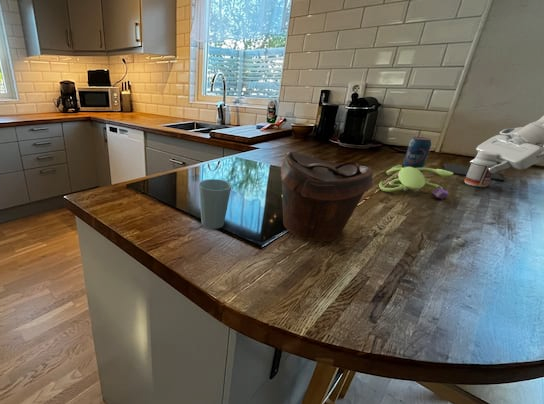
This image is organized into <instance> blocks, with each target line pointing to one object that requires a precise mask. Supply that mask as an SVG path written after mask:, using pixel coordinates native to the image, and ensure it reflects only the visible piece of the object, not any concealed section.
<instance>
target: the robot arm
mask: <svg viewBox="0 0 544 404" xmlns="http://www.w3.org/2000/svg"><path fill="white" fill-rule="evenodd" d="M475 151H476V153H478V152H479V151H489V152H494V153H497V154H499V155H498V159H497V160H495V161H496V162H497V165H495V166H493V165H492V166H490V167H488V168H487V170H488V172H490V173H495V172H497V173H498V171H502V170H507V169H509V168H513V169H516V170H519V171H522V170H526V169H528V168H530V167H532V166H533V165H535V164H537V163H539V162H540V161H541V160H542V159H544V115H542V116H541V117H540V118H539V119H538V120H535V121H532V122H529V123H528V124H526V125H524V126H519V127H512V128H504V129H502V130H500V131H499V134H497V135H493V136H492V137H490V138H488V139H487V140H485V141H483V142H481V143H480V144H478V145H477V146H476V148H475ZM476 158H478V157H477V155H476V156H475V157H474V158H473V159H471V160H470V161H469V163H470V164H471V163H472V161H473V160H474V159H476Z"/></svg>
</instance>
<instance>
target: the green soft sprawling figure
mask: <svg viewBox="0 0 544 404" xmlns="http://www.w3.org/2000/svg"><path fill="white" fill-rule="evenodd" d="M394 172H398V175H397V176H398V178H395V179H392V180H391V181H389V182H388V183H389V185H390V186H392V187H393V186H394V187H393V188H392V187H384V180H381V181H380V182H379V183H378V187H379V189H380V190H381V191H382V192H387V193H394V192H395V193H396V192H399V191H402V190H403V191H405V192H406V191H408V190H410V191H413V192H415V193H417V192H419V191H420V189H422V188H423V187H424V186H427V187H432V188H435V190H433V191H432V192H431V193H432V194H433V195H434V196H435V197H436V199H437V198H438V199H442V200H444V199H445V198H447V197H448V196H449V195H450V194H449V191H448V190H447V188H444V187H442V186H440V185H438V184H437V183H432V182H428V181H426V178H425V175H424V174H423V173H422V172H429V173H434V174H437V175H438V176H439V177H441V178H442V177H443V178H450V177H452V176H453V175H455V174H454V173H453V172H450V171H446V170H445V169H441V168H432V167H431V168H430V167H422V168H413V167H403V165H402V164H396V165H394V166H393V167H391V168H390V169H388V170H386V175H388V176H389V175H391V174H392V173H394Z"/></svg>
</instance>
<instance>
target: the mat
mask: <svg viewBox="0 0 544 404" xmlns="http://www.w3.org/2000/svg"><path fill="white" fill-rule="evenodd" d="M443 167H444V170H446V171H450V172H453V173H454V174H453V175H457V176H462V177H463V176H464V177H466V176H467V173H468V171H469V168H470V166H466V165H465V166H464V165H456V164H451V163H443ZM491 180H492V181H499V182H504V181H505V179H504V178H503V177H502V176H501V175H500V174H499V173H498V171H497V172H495V173H493V175H492V177H491V179H490V181H491Z"/></svg>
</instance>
